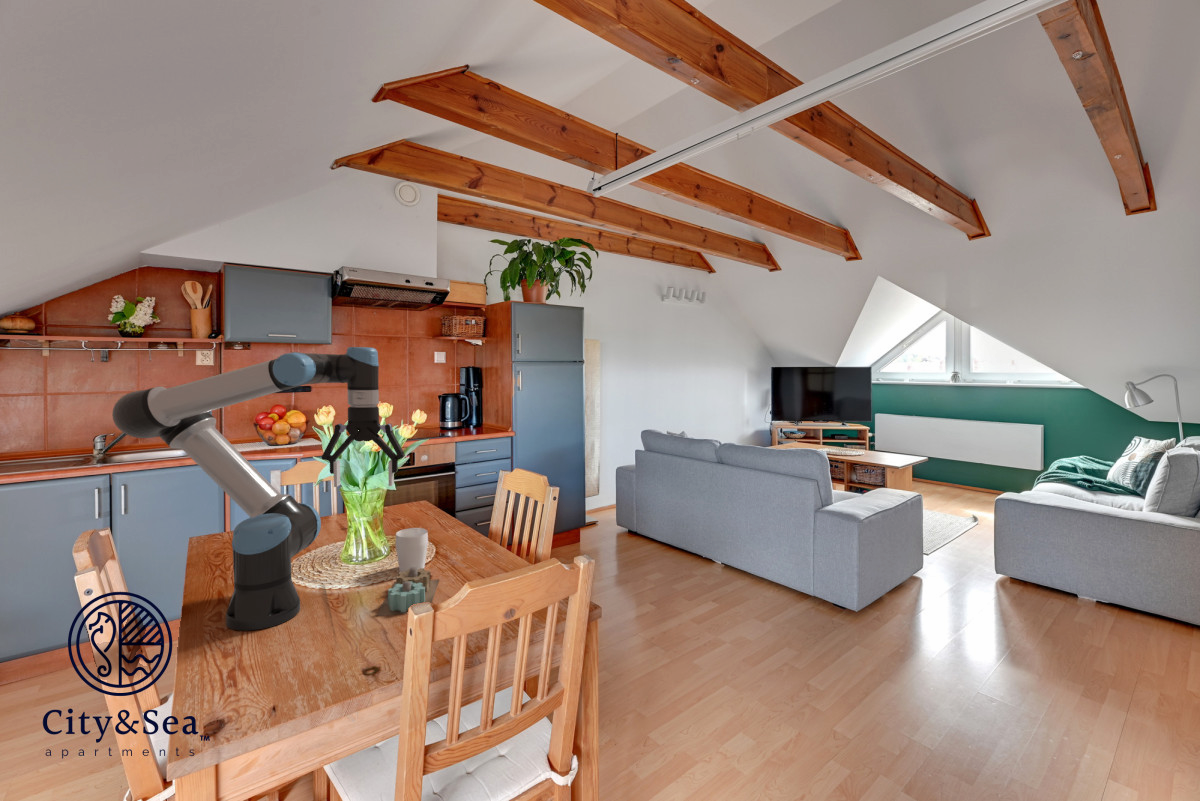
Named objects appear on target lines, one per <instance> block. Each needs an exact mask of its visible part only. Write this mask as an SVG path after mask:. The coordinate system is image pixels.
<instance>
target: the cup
mask: <svg viewBox="0 0 1200 801" xmlns="http://www.w3.org/2000/svg"><path fill="white" fill-rule="evenodd" d="M428 535H429V534H428V530H427V529H425V528H422V527H409V528H404V529H400V530H399V531H397V532H395V544H394V545H395V551H396V556H397V562H398V570H399V572H405V571H408V569H410V568H413V567H416V568H417V569H420V568H424V569H425V566H426V560H427V552H428V546H429V536H428Z"/></svg>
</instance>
